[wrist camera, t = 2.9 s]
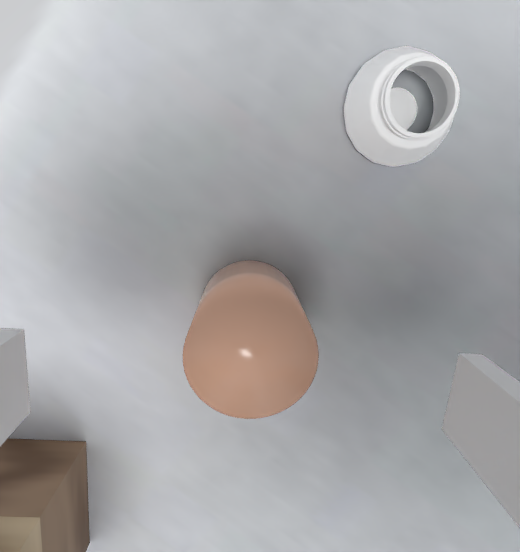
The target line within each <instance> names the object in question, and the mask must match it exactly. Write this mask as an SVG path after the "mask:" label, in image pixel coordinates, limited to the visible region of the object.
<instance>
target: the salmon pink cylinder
mask: <svg viewBox="0 0 520 552" xmlns="http://www.w3.org/2000/svg"><path fill="white" fill-rule="evenodd" d="M318 356H319V354H318V345H317V340H316V337H315V334H314V332H313V329H312V327H311V325H310V323H309V321H308V319H307V317H306V314H305V312H304V310H303V308H302V306H301V304H300V301H299V299H298V297H297V295H296V293H295V291H294V288H293V286H292V285H291V283H290V281H289V280H288V279H287V277H286V276H285V275H284V274H283V273H282V272H281V271H279V270H278V269H277V268H275V267H273V266H272V265H269V264H267V263H264V262H260V261H254V260H245V261H239V262H235V263H232V264H229V265H227V266H225V267H224V268H222V269H220V270H219V271H218V272H217V273H216V274H215V275H214V276H213V277H212V278H211V279H210V280H209V282H208V283H207V285H206V287H205V289H204V292H203V294H202V297H201V300H200V302H199V305H198V307H197V310H196V313H195V315H194V318H193V321H192V323H191V326H190V329H189V331H188V334H187V336H186V339H185V343H184V348H183V366H184V371H185V374H186V377H187V380H188V382H189V384H190V386H191V388H192V389H193V390H194V392H195V393H196V394H197V396H198V397H199V398H200V399H201V400H202V401H203V402H205V403H206V404H207V405H208V406H210V407H211V408H213V409H214V410H216V411H218V412H220V413H223V414H226V415H228V416H232V417H237V418H244V419H256V418H263V417H267V416H271V415H274V414H277V413H279V412H281V411H283V410H285V409H287V408H289V407H290V406H292V405H293V404H294V403H296V402H297V401H298V400H299V399H300V398H301V397H302V396H303V395H304V394H305V392H306V391H307V390H308V388H309V387H310V385H311V383H312V381H313V379H314V377H315V374H316V371H317V366H318Z"/></svg>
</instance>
